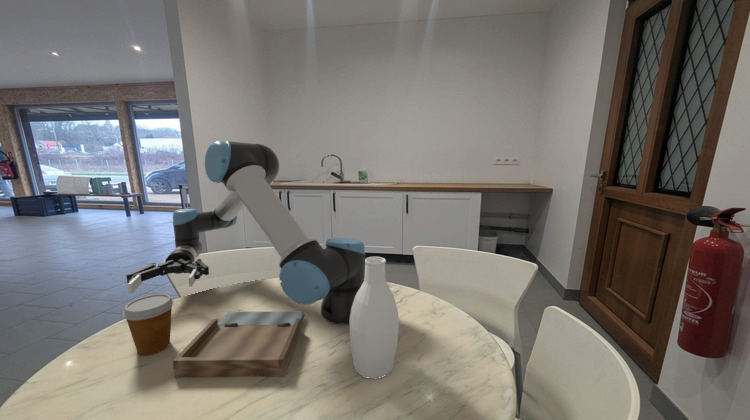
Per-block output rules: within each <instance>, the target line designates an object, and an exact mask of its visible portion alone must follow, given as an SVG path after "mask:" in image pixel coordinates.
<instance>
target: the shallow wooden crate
mask: <svg viewBox="0 0 750 420" xmlns="http://www.w3.org/2000/svg"><path fill="white" fill-rule="evenodd" d="M304 318H305V311H301V310H299V311H298V310H297V311H295V310H294V311H286V310H285V311H228V312H227V313H226V314H225V315H224V316H223V317H222V318H221V320H220V321H218V318H213V319H212V320H210V322H209V323H208V324H207V325H206V326H205V327H204V328H203V329H202V330H201V331H200V332H199V333H198V334H197V335H196V336H195V337H194V338H193V339H192V340H191V341H190V342H189V343H188V344H187V345H186V346H185V347H184V348H183V350H181V351H180V352H179V354H178V355H177V356H175V358H173V359H172V366H173V368H172V369H173V375H174V376H173V377H174V378H221V377H222V378H235V377H236V378H238V377H240V378H245V377H246V378H249V377H254V378H255V377H256V378H257V377H284V376H285V374H286V371H287V369H288V366H289V364H290V361H291V358H292V355H293V353H294V351H295V348H296V345H297V342H298V340H299V337H300V335H301V333H302V332H301V330H302V329H301V328H302V327H301V325H302V323H303V320H304Z"/></svg>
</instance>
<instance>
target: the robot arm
mask: <svg viewBox="0 0 750 420" xmlns="http://www.w3.org/2000/svg"><path fill="white" fill-rule="evenodd" d="M204 169H205V174H206V176H207V178H208V179H209V180H210V182H213V183H216V184H219V183H222V184H223V186H224V187H225V188H226V189H227V191H228V193H227V194H226V195H225V197H224V198H223V200H222V201H221V202H219V204H218V205H217V206H216V208H214V210H211V211H203V212H198V210H197V209H195V208H180V209H176V210H174V211H173V213H172V225H173V233H174V244H175V245H174V246H175V249H174V250H172V251H171V252H170V254H169V255H168V256H167V257H166V259H165V261H164V262H163V263H160V264H157V263H156V262H152V263H150V264H149V265H147V266H144V267H141V268H139V269H137V270H134V271H132V272H130V273H127V274H126V283H127V292H128V294H130V295H131V294H133V293H135V292H136V290H137V289H138V288H139V287H141V285H142V283H143V282H145V281H148V280H151V279H153V278H156V277H158V276H161V277H164V276H165V275H169V274H175V275H176V274H179V275H180V274H189V276H188V285H189V287H194V284H195V282H196V280H199V279H200V278H201V277H202V276H203V275H204V276H208V275H210V268H209V266H208V265H207V264H205V263H204V262H203V261H202V258H198V257H199V256H200V255H201V252H202V249H203V244H202V242H201V240H200V234H201V233H205V232H209V231H210V232H211V231H215V230H220V229H227V228H229V227H230V228H231V227H233V226H235V225H236V224H237V221H238V216H237V215H239V213H240V212H241V211H242V210H243V209H244V208H245V207H246V209H247V210H248V212H249V214H250V215H251V216H252V217H253V219H254V221H256V224H257V225H258V226H259V228H260V230H262V232H263V234H264V235H265V236H266V238H267V240H269V242H270V244H271V245H272V246H273V248H274V249H275V251H276V252H277V253H278V255H279V257H280V260H279V264H278V266H279V268H280V271H279V274H278V275H279V276H278V277H279V281H281V282H280V287H281V289H282V291H283V292H284V294H285V295H286V296H287V297H288V299H290V300H291V301H292V302H294V303H297V304H299V305H301V304H302V305H305V306H309V305H312V304H314V303H317V301H321V305H320V314H321V317H323V319H325V320H326V321H328V322H330V323H333V322H334V324H338V323H349V319H350V313H351V308H352V305H353V302H354V299H355V296H356V294H357V292H358V290H359V289H360V287H361V285H362V284H363V282H364V280H365V266H366V263H365V259H366V258H365V257H366V251H365V250H366V249H365V244H364V242H363V241H361V240H359V239H356V238H355V239H354V238H349V237H330V238H328V239H326V242H325V248H323V247H322V245H321V244H320V242H318V240H317V239H315V238H314V239H313V238H308V235H306V233H305V232H304V230H303V229H302V228H301V227H300V225H299V224H298V222H297V221H296V220H295V218H294V217H293V216H292V214H291V213H290V211H289V209H288V208H287V207H286V206H285V205H284V203H283V202H282V200H281V198H279V196H278V195H277V194H276V192H275V191H274V190H273V188H272V186H271V183H272V182H274V180H275V179H276V178H277V176H278V174H279V171H280V162H279V158H278V156H277V154H276V153H275V151H274V150H272V148H270V147H268V146H267V145H264V144H261V143H249V142H248V143H247V142H241V141H239V142H238V141H229V140H224V141H223V140H221V141H220V140H217V141H213V142H212V143H211V144H209V145H208V147H207V150H206V151H205V156H204ZM197 258H198V259H197ZM349 324H350V323H349Z"/></svg>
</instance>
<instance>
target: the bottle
mask: <svg viewBox="0 0 750 420" xmlns="http://www.w3.org/2000/svg"><path fill="white" fill-rule="evenodd" d="M386 263H387V259H386V258H385V257H381V256H377V255H376V256H369V257H366V258H365V273H364V282H363V284H362V285H361V287H360V289H359V290H358V292H357V294H356V296H355V299H354V302H353V305H352V308H351V313H350V319H349V338H350V339H349V341H350V342H349V343H350V350H351V357H352V364H353V368H354V369H355V372H356V373H357V374H359V375H360V376H361V375H362V376H361V377H363V376H364V377H363V378H365V377H369V378H379V377H382V376H384V375H386V374H387V375H388V373H389V372H390V373H391V372H392V370H393V367H394V363H395V359H396V353H397V348H398V339H399V330H400V329H399V328H400V318H399V311H398V306H397V303H396V299H395V295H394V293H393V292H392V290H391V289H390V287H389V284H388V283H387V280H386ZM390 373H389V374H390ZM387 375H386V376H387ZM382 378H383V377H382Z"/></svg>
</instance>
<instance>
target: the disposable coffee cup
mask: <svg viewBox="0 0 750 420" xmlns="http://www.w3.org/2000/svg"><path fill="white" fill-rule="evenodd" d="M174 302H175V301H174V299H173V298H172V297H171V295H170V294H166V293H156V294H155V293H154V294H149V295H145V296H141V297H138V298H135V299H134V300H132V301H130V302H128V303H126V305H124V309H123V311H122V316H123V317H124V319H126V322H127V325H128V327H129V331H130V334H131V338H132V341H133V343H134V344H133V345H134V346H135V349H136V352H137V355H139V356H143V357H144V356H151V355H155V354H158V353H160V352H162V351H163V350H166V349H167V348H168V347H169V346H170V344H171V327H172V324H171V323H172V310H173V309H172V307H173V305H174Z"/></svg>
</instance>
